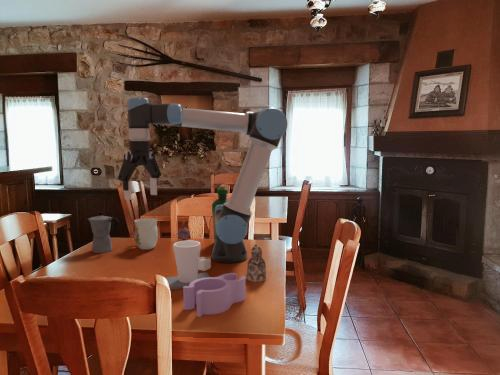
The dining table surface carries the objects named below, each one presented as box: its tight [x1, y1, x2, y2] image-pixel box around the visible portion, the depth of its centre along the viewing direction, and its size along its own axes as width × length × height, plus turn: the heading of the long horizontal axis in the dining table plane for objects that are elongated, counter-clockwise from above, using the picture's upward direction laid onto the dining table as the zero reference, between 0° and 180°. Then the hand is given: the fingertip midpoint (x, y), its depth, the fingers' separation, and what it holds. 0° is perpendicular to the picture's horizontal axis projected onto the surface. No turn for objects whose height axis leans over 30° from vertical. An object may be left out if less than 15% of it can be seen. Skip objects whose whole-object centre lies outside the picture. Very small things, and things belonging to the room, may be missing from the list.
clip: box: [182, 272, 246, 318], centre depth 124 cm, size 20×12×7 cm, turn 134°
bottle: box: [211, 185, 230, 243], centre depth 196 cm, size 11×11×28 cm
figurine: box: [246, 244, 267, 283], centre depth 146 cm, size 7×7×12 cm
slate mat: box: [165, 272, 211, 291], centre depth 143 cm, size 16×10×1 cm, turn 111°
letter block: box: [198, 256, 212, 272], centre depth 158 cm, size 4×4×4 cm
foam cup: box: [172, 239, 202, 283], centre depth 142 cm, size 10×9×13 cm
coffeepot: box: [87, 211, 120, 254], centre depth 183 cm, size 15×9×18 cm, turn 78°
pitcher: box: [133, 217, 159, 250], centre depth 189 cm, size 11×18×14 cm, turn 33°
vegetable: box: [177, 221, 191, 241], centre depth 201 cm, size 6×6×10 cm
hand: (141, 197), depth 152 cm, fingers open, 13 cm apart
